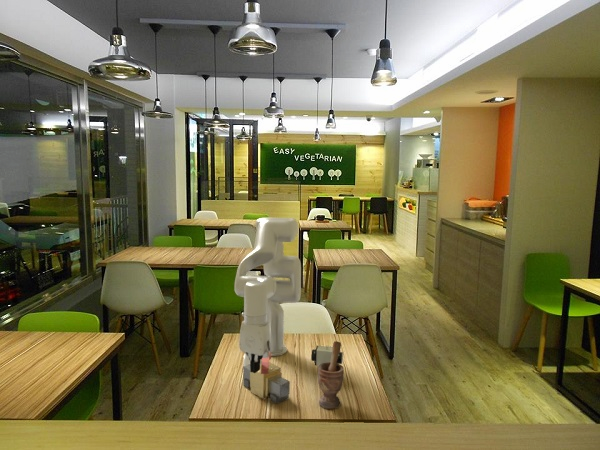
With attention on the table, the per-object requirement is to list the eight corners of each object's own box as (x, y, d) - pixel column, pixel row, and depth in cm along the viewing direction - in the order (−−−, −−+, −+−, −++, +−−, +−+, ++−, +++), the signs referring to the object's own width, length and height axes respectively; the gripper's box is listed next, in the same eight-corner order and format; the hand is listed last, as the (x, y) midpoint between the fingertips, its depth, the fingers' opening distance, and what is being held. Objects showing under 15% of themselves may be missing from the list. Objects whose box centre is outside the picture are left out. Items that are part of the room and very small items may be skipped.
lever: (261, 356, 162) (261, 351, 162) (271, 356, 162) (271, 351, 162) (259, 374, 148) (259, 368, 148) (270, 374, 148) (270, 368, 148)
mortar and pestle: (317, 392, 162) (318, 338, 159) (341, 393, 162) (343, 339, 159) (317, 409, 150) (318, 352, 148) (343, 410, 150) (345, 353, 148)
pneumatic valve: (341, 380, 172) (342, 349, 170) (310, 376, 174) (311, 346, 173) (342, 373, 177) (343, 344, 176) (313, 370, 180) (313, 341, 178)
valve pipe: (239, 385, 166) (239, 353, 165) (256, 378, 172) (256, 347, 170) (275, 406, 152) (276, 371, 150) (292, 398, 158) (293, 364, 156)
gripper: (230, 317, 150) (230, 370, 153) (267, 326, 143) (267, 381, 145) (244, 311, 157) (244, 362, 159) (280, 319, 149) (279, 372, 152)
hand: (255, 371), depth 152 cm, fingers closed
